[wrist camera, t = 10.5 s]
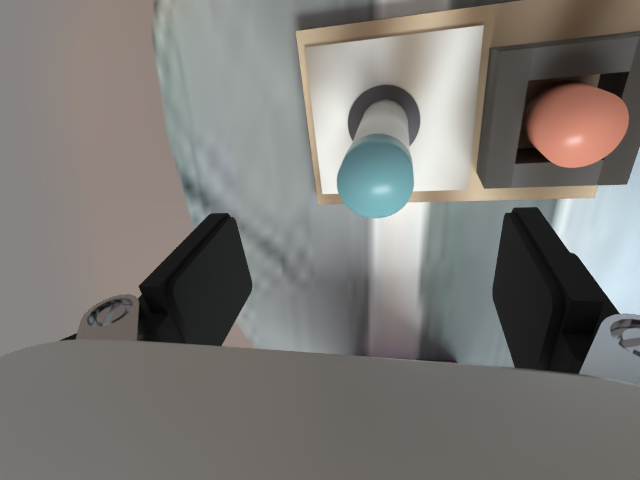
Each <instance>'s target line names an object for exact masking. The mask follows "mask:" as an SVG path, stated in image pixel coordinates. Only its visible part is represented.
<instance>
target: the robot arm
mask: <svg viewBox="0 0 640 480" xmlns="http://www.w3.org/2000/svg"><path fill="white" fill-rule="evenodd" d="M139 288H140V291H141V293H142V295H141V296H140V297H139V298H137V297H136V296H134V295H129V294H127V295H118V296H113V297H111V298H108V299H106V300H103V301H101V302H99V303H98V304H96V305H94V306H93V307H92V308H90V309H89V310H88V311H87V312H86V313H85V314H84V316H83V317H82V319H81V322H80V325H79V329H78V332H77V333H76V334H74V335H72V336H69V337H67V338H65V339H63V340H60V341H56V342H49V343H44V344H39V345H36V346H31V347H28V348H24V349H20V350H17V351H14V352H11V353H9V354H6V355H3V356H1V357H0V480H640V315H635V314H620V313H619V312H618V311H617V309H616V308H615V307H614V305H613V304H612V302H611V301H610V300H609V298H608V297H607V296H606V294H605V293H604V292H603V290H602V289H601V288H600V286H599V285H598V283H597V282H596V281H595V279H594V278H593V277H592V275H591V274H590V273H589V271H588V270H587V269H586V267H585V266H584V264H583V263H582V262H581V260H580V259H579V258H578V256H576V255H575V254H574V253H570V252H569V251H568V249H567V248H566V247H565V245H564V244H563V242H562V241H561V240H560V238H559V237H558V235H557V234H556V233H555V231H554V230H553V228H552V227H551V226H550V224H549V223H548V221H547V220H546V219H545V217H544V216H543V214H542V213H541V212H540V210H539V209H538V208H537V207H528V208H513V210H512V212H511V213H506V214H505V216H504V220H503V226H502V233H501V239H500V245H499V251H498V258H497V264H496V270H495V277H494V283H493V301H494V304H495V307H496V310H497V313H498V316H499V319H500V323H501V326H502V329H503V332H504V335H505V338H506V341H507V344H508V347H509V350H510V353H511V357H512V360H513V363H514V366H515V368H511V367H498V366H485V365H472V364H459V363H446V362H433V361H420V360H407V359H393V358H379V357H365V356H351V355H337V354H323V353H309V352H295V351H281V350H267V349H252V348H239V347H225V346H221V345H222V344H223V342H224V340H225V338H226V336H227V335H228V333H229V331H230V329H231V327H232V325H233V324H234V322H235V320H236V318H237V317H238V315H239V313H240V311H241V309H242V308H243V306H244V304H245V302H246V300H247V298H248V297H249V295H250V293H251V291H252V280H251V276H250V272H249V269H248V265H247V261H246V257H245V253H244V250H243V246H242V242H241V238H240V234H239V231H238V227H237V223H236V220H235V219H234V218H233V217H231V216H230V215H229V214H228V213H212V214H209V215H208V216H207V217H206V218H205V219H204V220H203V221H202V222H201V223H200V224H199V226H198V227H197V228H196V229H195V230H194V231H193V232H192V233H191V234H190V235H189V236H188V237H187V238H186V239H185V240H184V241H183V242H182V243H181V244H180V245H179V246H178V247H177V248H176V249H175V250H174V251H173V252H172V253H171V254H170V255H169V256H168V257H167V258H166V259H165V260H164V261H163V262H162V263H161V264H160V265H159V266H158V267H157V268H156V269H155V270H154V271H153V272H152V273H151V274H150V275H149V276H148V277H147V278H146V279H145V280H144V281H143V282H142V283H141V284H140V285H139Z"/></svg>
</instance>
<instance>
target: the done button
mask: <svg viewBox="0 0 640 480" xmlns="http://www.w3.org/2000/svg"><path fill="white" fill-rule="evenodd" d="M628 124H629V113H628V109H627V107H626V105H625V103H624V102H623V100H622V99H620V98H619V97H618V96H616V95H615V94H613V93H610V92H608V91H605V90H602V89H599V88H596V87H593V86H591V85H588V84H585V83H582V82H579V81H574V80H565V81H559V82H556V83H553V84H551V85H549V86H547V87H545V88H543V89H542V90H540V91H539V92H538V93H537V94H536V95H535V96H534V97H533V98H532V99H531V100H530V102H529V103H528V105H527V106H526V108H525V110H524V113H523V117H522V130H523V133H524V135H525V137H526V138H527V140H528V141H529V142H530V143H531V144H532V145H533V146H534V147H536V148H537V149H538V150H539V151H540V152H541V153H542V154H543V155H544V156H545V157H546V158H547V159H548V160H549V161H550V162H552V163H554V164H556V165H558V166H561V167H567V168H577V167H583V166H587V165H590V164H593V163H595V162H597V161H599V160H601V159H603V158H604V157H606V156H607V155H608V154H610V153H611V152H612V151H613V150H614V149H615V148H616V147H617V146H618V145H619V143H620V142H621V140H622V139H623V137H624V135H625V133H626V131H627V128H628Z"/></svg>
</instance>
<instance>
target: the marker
mask: <svg viewBox="0 0 640 480" xmlns="http://www.w3.org/2000/svg"><path fill="white" fill-rule="evenodd" d="M413 188H414V174H413V162H412V157H411V155H410V147H409V131H408V118H407V114H406V112H405V110H404V109H403V107H402V106H401V105H399V104H398V103H396V102H394V101H391V100H380V101H377V102H375V103H373V104H372V105H370V106H369V107H368V108H367V110H366V111H365V113H364V115H363V117H362V120H361V122H360V125H359V127H358V130H357V132H356V135H355V137H354V140H353V142H352V145H351V146H350V148H349V149H348V151H347V152H346V154H345V157H344V159H343V161H342V164H341V166H340V169H339V171H338V175H337V190H338V193H339V196H340V198H341V200H342V201H343V203H344V204H345V205H346V206H347V207H348V208H349V209H350V210H352V211H353V212H355V213H356V214H358V215H361V216H364V217H368V218H382V217H387V216H390V215H392V214H394V213H396V212H398V211H399V210H400V209H402V208H403V207H404V206H405V205H406V203H407V202H408V201H409V199H410V197H411V195H412V192H413Z"/></svg>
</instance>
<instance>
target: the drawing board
mask: <svg viewBox="0 0 640 480" xmlns="http://www.w3.org/2000/svg"><path fill="white" fill-rule="evenodd" d="M296 38H297V46H298V53H299V61H300V69H301V76H302V84H303V92H304V99H305V107H306V115H307V122H308V130H309V138H310V145H311V153H312V161H313V168H314V176H315V184H316V191H317V199H318V204H344V203H343V201H342V200H341V198H340V196H339V193H338V190H337V175H338V171H339V169H340V166H341V164H342V161H343V159H344V157H345V154H346V152H347V151H348V149H349V148H350V146H351V145H352V142H353V140H354V137H355V135H356V132H357V130H358V127H359V125H360V122H361V120H362V117H363V115H364V113H365V111H366V110H367V108H368V107H369V106H370V105H372V104H373V103H375V102H377V101H380V100H391V101H394V102H396V103H398V104H399V105H401V106H402V107H403V109H404V110H405V112H406V114H407V118H408V131H409V147H410V155H411V157H412V162H413V174H414V188H413V192H412V195H411V197H410V199H409V201H408V202H442V201H484V200H525V199H566V198H595V195H596V191H597V188H598V185H623V184H627V183H628V180H629V177H630V174H631V171H632V168H633V165H634V162H635V159H636V156H637V153H638V150H639V147H640V0H521V1H513V2H506V3H499V4H491V5H484V6H477V7H469V8H462V9H455V10H447V11H440V12H433V13H425V14H418V15H411V16H403V17H396V18H389V19H381V20H374V21H367V22H359V23H352V24H345V25H337V26H330V27H323V28H315V29H308V30H301V31H296ZM565 80H574V81H579V82H582V83H585V84H588V85H591V86H593V87H596V88H599V89H602V90H605V91H608V92H610V93H613V94H615V95H616V96H618V97H619V98H620V99H622V100H623V102H624V103H625V105H626V107H627V109H628V113H629V124H628V128H627V131H626V133H625V135H624V137H623V139H622V140H621V142H620V143H619V145H618V146H617V147H616V148H615V149H614V150H613V151H612V152H611V153H610V154H608V155H607V156H606V157H604V158H603V159H601V160H599V161H597V162H595V163H593V164H590V165H587V166H583V167H577V168H567V167H561V166H558V165H556V164H554V163H552V162H550V161H549V160H548V159H547V158H546V157H545V156H544V155H543V154H542V153H541V152H540V151H539V150H538V149H537V148H536V147H534V146H533V145H532V144H531V143H530V142H529V141H528V140H527V138H526V137H525V135H524V133H523V130H522V117H523V113H524V110H525V108H526V106H527V105H528V103H529V102H530V100H531V99H532V98H533V97H534V96H535V95H536V94H537V93H538V92H539V91H540V90H542V89H543V88H545V87H547V86H549V85H551V84H553V83H556V82H559V81H565Z"/></svg>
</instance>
